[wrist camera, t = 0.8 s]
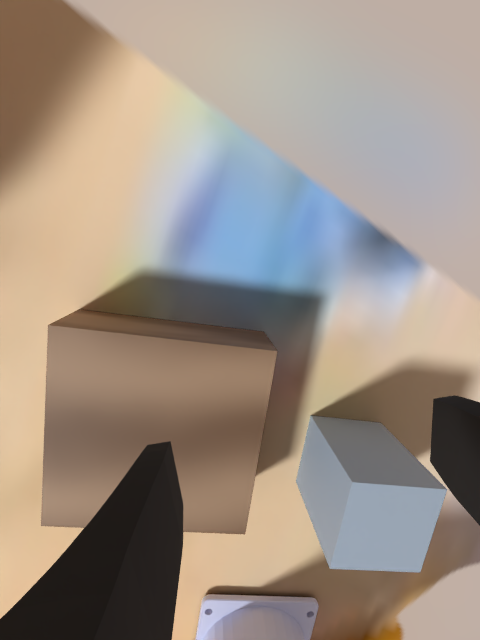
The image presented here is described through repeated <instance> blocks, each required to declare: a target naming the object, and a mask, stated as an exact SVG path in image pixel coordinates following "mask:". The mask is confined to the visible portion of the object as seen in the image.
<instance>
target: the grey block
mask: <svg viewBox="0 0 480 640" xmlns="http://www.w3.org/2000/svg"><path fill="white" fill-rule="evenodd" d="M296 483H297V485H298V488H299V490H300V493H301V496H302V498H303V501H304V503H305V506H306V509H307V511H308V514H309V516H310V519H311V521H312V524H313V527H314V529H315V532H316V534H317V537H318V540H319V542H320V545H321V547H322V550H323V553H324V555H325V558H326V560H327V563H328V565H329V568H330V569H346V570H371V571H396V572H421V569H422V566H423V562H424V559H425V556H426V553H427V550H428V547H429V544H430V541H431V538H432V535H433V532H434V529H435V525H436V522H437V519H438V516H439V513H440V510H441V507H442V504H443V501H444V498H445V495H446V491H447V489H446V488H445V487H444V486H443V485H442V484H441V483H440V482H439V481H438V480H437V479H436V478H435V477H434V476H433V475H432V474H431V473H430V472H429V471H428V470H427V469H426V468H425V467H424V466H423V465H422V464H421V463H420V462H419V461H418V460H417V459H416V458H415V457H414V456H413V455H412V454H411V453H410V452H409V451H408V450H407V449H406V448H405V447H404V446H403V445H402V444H401V443H400V442H399V441H398V440H397V439H396V438H395V436H394V435H393V434H392V433H391V432H390V431H389V430H388V429H387V428H386V427H385V426H384V425H383V424H382V423H379V422H369V421H360V420H350V419H340V418H331V417H321V416H312V415H311V416H310V421H309V425H308V430H307V434H306V439H305V443H304V448H303V452H302V457H301V461H300V466H299V470H298V475H297V479H296Z"/></svg>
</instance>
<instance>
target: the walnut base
mask: <svg viewBox="0 0 480 640" xmlns="http://www.w3.org/2000/svg"><path fill="white" fill-rule="evenodd" d="M276 357H277V350H276V348H275V347H274V345H273V344H272V343H271V341H270V340H269V338H268V337H267V335H266V334H265V332H262V331H254V330H246V329H237V328H229V327H221V326H213V325H204V324H196V323H188V322H179V321H171V320H163V319H155V318H146V317H138V316H130V315H122V314H113V313H105V312H97V311H89V310H80V309H79V310H77V311H75V312H73V313H71V314H69V315H67V316H65V317H63V318H61V319H59V320H57V321H55V322H53V323H51V324H49V325H48V343H47V371H46V399H45V428H44V456H43V484H42V513H41V526H55V527H80V528H85V527H86V526H87V524H88V523H89V522H90V521H91V519H92V518H93V517H94V516H95V515H96V513H97V512H98V511H99V509H100V508H101V507H102V505H103V504H104V503H105V501H106V500H107V499H108V498H109V496H110V495H111V494H112V492H113V491H114V490H115V488H116V487H117V486H118V484H119V483H120V482H121V480H122V479H123V477H124V476H125V475H126V473H127V472H128V470H129V469H130V468H131V466H132V465H133V463H134V462H135V461H136V459H137V458H138V456H139V455H140V454H141V452H142V451H143V450H144V448H145V447H146V446H147V445H150V444H156V443H162V442H169V441H171V446H172V451H173V455H174V460H175V465H176V470H177V475H178V480H179V485H180V490H181V494H182V499H183V532H201V533H226V534H245V532H246V526H247V521H248V515H249V509H250V504H251V498H252V492H253V487H254V481H255V476H256V470H257V464H258V459H259V453H260V447H261V442H262V436H263V430H264V425H265V419H266V413H267V408H268V402H269V396H270V391H271V385H272V379H273V374H274V368H275V362H276Z"/></svg>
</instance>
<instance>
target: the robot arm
mask: <svg viewBox="0 0 480 640" xmlns="http://www.w3.org/2000/svg"><path fill="white" fill-rule="evenodd" d="M430 462H431V463H432V465H433V466H434V468H435V469H436V471H437V472H438V474H439V475H440V477H441V478H442V480H443V481H444V483H445V484H446V485H447V487H448V488H449V489H450V491H451V492H452V494H453V495H454V496H455V498H456V499H457V500H458V501H459V502H460V503H461V505H462V506H463V507H464V508H465V509H466V510H467V511H468V513H469V514H470V515H471V516H472V517H473V518H474V519H475V521H476V522H477V523H478V524H479V525H480V403H479V402H476V401H473V400H470V399H466V398H463V397H459V396H448V397H442V398H436V399H434V400H433V419H432V437H431V455H430ZM182 548H183V499H182V494H181V490H180V485H179V480H178V475H177V470H176V465H175V460H174V455H173V451H172V446H171V441H169V442H162V443H156V444H150V445H147V446H146V447H145V448H144V450H143V451H142V452H141V454H140V455H139V456H138V458H137V459H136V461H135V462H134V463H133V465H132V466H131V468H130V469H129V470H128V472H127V473H126V475H125V476H124V477H123V479H122V480H121V482H120V483H119V484H118V486H117V487H116V488H115V490H114V491H113V492H112V494H111V495H110V496H109V498H108V499H107V500H106V501H105V503H104V504H103V505H102V507H101V508H100V509H99V511H98V512H97V513H96V515H95V516H94V517H93V518H92V519H91V521H90V522H89V523H88V524H87V526H86V527H85V528H84V529H83V530H82V532H81V533H80V534H79V535H78V536H77V538H76V539H75V540H74V541H73V542H72V544H71V545H70V546H69V547H68V548H67V550H66V551H65V552H64V553H63V554H62V555H61V557H60V558H59V559H58V560H57V561H56V562H55V563H54V564H53V565H52V567H51V568H50V569H49V570H48V571H47V572H46V573H45V574H44V575H43V576H42V577H41V578H40V579H39V580H38V581H37V583H36V584H35V585H34V586H33V587H32V588H31V589H30V590H29V591H28V592H27V593H26V594H25V595H24V596H23V597H22V598H21V599H20V600H19V601H18V602H17V603H16V604H15V605H14V606H13V607H12V608H11V609H10V610H9V611H8V612H7V613H6V614H5V615H4V616H3V617H2V618H1V619H0V640H171V639H172V631H173V623H174V614H175V606H176V598H177V590H178V582H179V574H180V565H181V557H182ZM317 612H318V603H317V600H316V599H315V598H312V597H284V596H252V595H220V594H208V595H206V596H204V597H203V599H202V603H201V609H200V615H199V621H198V626H197V632H196V638H195V640H310V639H311V635H312V631H313V627H314V623H315V619H316V616H317Z"/></svg>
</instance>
